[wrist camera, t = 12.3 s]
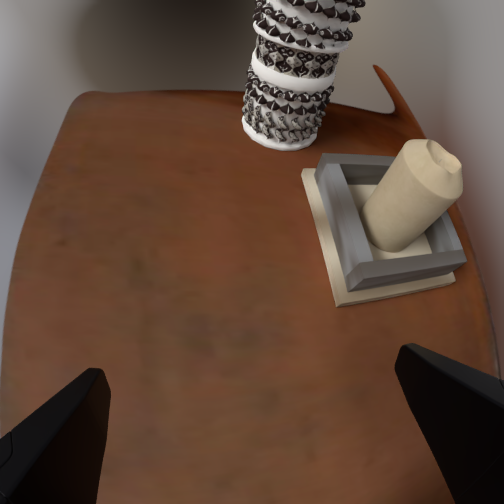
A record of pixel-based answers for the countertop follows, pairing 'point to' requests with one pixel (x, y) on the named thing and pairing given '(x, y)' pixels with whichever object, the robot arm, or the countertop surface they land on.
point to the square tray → (360, 248)
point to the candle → (411, 195)
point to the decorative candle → (294, 68)
